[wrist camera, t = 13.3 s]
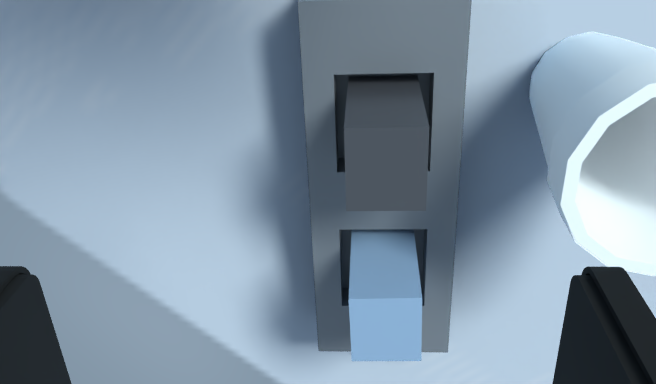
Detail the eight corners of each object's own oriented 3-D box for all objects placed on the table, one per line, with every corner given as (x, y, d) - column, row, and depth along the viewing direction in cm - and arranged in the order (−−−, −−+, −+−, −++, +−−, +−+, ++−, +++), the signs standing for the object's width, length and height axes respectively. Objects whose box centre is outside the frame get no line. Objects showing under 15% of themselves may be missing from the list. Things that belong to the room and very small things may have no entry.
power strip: (297, -129, 33) (273, -126, 24) (469, -136, 32) (505, -135, 24) (321, 318, 47) (311, 418, 38) (442, 319, 46) (458, 420, 38)
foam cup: (482, 137, 39) (529, 251, 28) (533, -11, 35) (614, 51, 24) (626, 167, 40) (730, 292, 28) (694, 24, 35) (850, 103, 24)
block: (351, 223, 41) (348, 298, 34) (412, 222, 41) (422, 298, 34) (354, 279, 43) (351, 361, 36) (412, 278, 43) (421, 360, 36)
